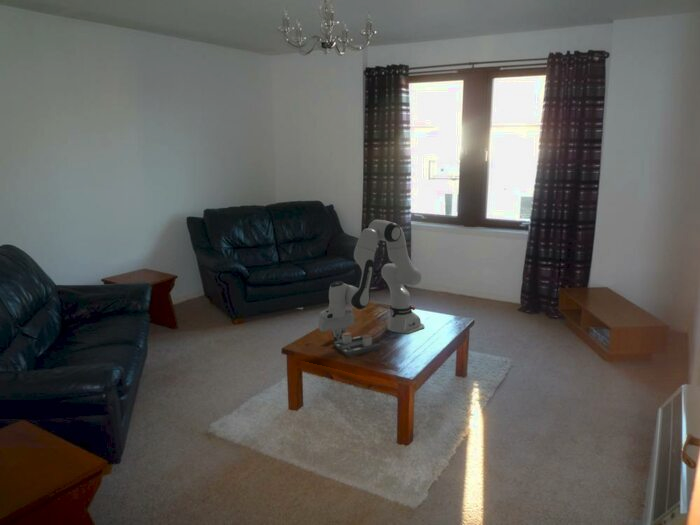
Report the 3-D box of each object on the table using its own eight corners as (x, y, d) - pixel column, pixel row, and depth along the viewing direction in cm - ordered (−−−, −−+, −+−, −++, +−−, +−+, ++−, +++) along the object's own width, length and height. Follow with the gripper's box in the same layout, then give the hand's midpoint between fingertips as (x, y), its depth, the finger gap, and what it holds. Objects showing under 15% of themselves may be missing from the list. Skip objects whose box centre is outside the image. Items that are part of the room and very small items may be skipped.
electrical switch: (338, 342, 286) (337, 326, 285) (331, 341, 290) (330, 325, 288) (348, 338, 293) (347, 322, 292) (341, 336, 297) (340, 321, 295)
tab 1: (348, 341, 283) (348, 332, 282) (351, 343, 281) (351, 334, 279) (342, 343, 281) (342, 333, 280) (345, 345, 279) (345, 335, 277)
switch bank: (365, 339, 291) (365, 334, 291) (380, 349, 278) (380, 344, 277) (333, 346, 282) (333, 341, 281) (348, 356, 268) (348, 351, 268)
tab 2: (368, 343, 280) (368, 334, 279) (371, 345, 278) (372, 336, 276) (362, 345, 278) (362, 335, 277) (365, 347, 276) (365, 337, 274)
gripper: (351, 307, 281) (350, 331, 284) (317, 312, 271) (317, 337, 274) (356, 310, 276) (356, 335, 279) (322, 316, 266) (322, 341, 269)
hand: (336, 336), depth 276 cm, fingers closed
